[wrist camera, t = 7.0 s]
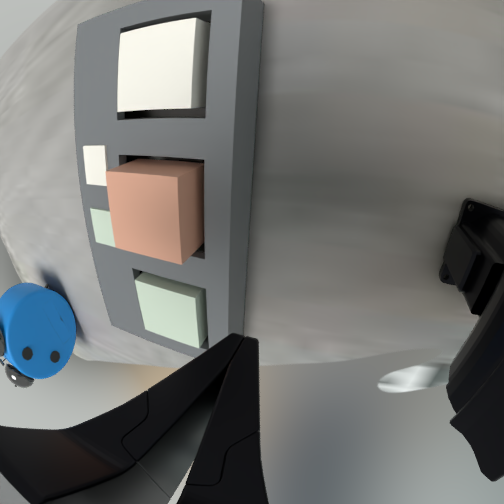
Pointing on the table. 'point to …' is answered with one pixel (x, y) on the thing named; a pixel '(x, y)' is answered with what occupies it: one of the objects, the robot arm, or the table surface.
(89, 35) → the console
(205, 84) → the cream key
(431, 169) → the table surface
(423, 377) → the table surface
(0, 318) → the alarm clock
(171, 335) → the sage key
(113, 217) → the terracotta key
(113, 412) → the robot arm
